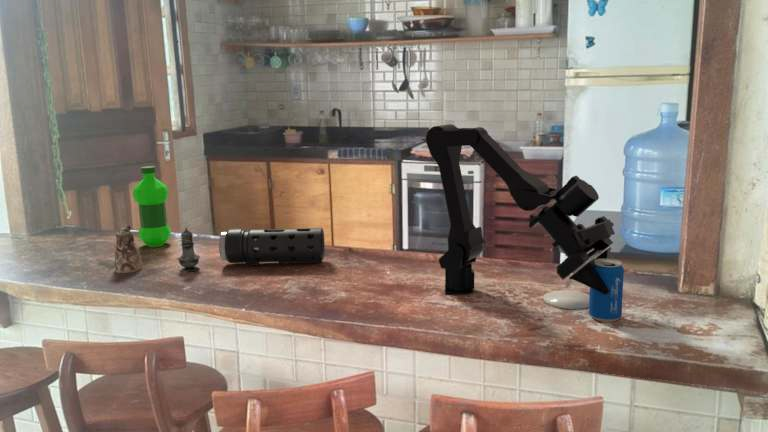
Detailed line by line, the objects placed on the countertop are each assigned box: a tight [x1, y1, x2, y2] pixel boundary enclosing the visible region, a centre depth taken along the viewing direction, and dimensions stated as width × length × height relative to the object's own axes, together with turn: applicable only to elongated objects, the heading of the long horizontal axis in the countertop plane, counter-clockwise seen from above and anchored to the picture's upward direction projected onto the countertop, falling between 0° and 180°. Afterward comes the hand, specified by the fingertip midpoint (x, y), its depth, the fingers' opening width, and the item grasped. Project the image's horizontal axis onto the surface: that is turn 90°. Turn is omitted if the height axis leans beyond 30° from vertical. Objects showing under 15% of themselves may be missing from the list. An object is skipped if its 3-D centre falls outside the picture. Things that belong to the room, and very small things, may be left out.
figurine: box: [114, 225, 143, 274], centre depth 183 cm, size 7×7×12 cm
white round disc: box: [543, 290, 590, 310], centre depth 148 cm, size 11×11×1 cm
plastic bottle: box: [132, 165, 172, 248], centre depth 208 cm, size 10×10×25 cm
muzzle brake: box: [218, 227, 326, 266], centre depth 184 cm, size 10×28×10 cm, turn 89°
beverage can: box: [588, 258, 625, 323], centre depth 137 cm, size 6×6×12 cm
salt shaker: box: [177, 227, 201, 274], centre depth 180 cm, size 6×6×12 cm
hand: (613, 288), depth 136 cm, fingers closed on beverage can, 6 cm apart
